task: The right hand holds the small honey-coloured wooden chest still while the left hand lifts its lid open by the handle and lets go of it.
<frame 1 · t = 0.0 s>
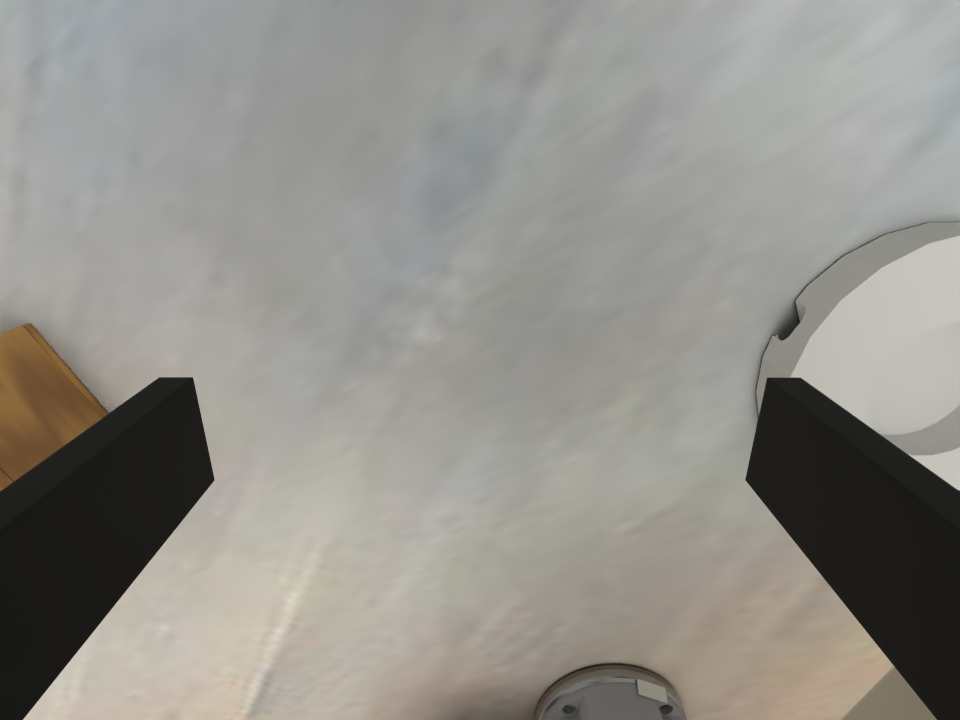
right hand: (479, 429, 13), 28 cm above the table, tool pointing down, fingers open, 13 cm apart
ashtray: (904, 371, 42), on the table
chest: (73, 416, 44), on the table
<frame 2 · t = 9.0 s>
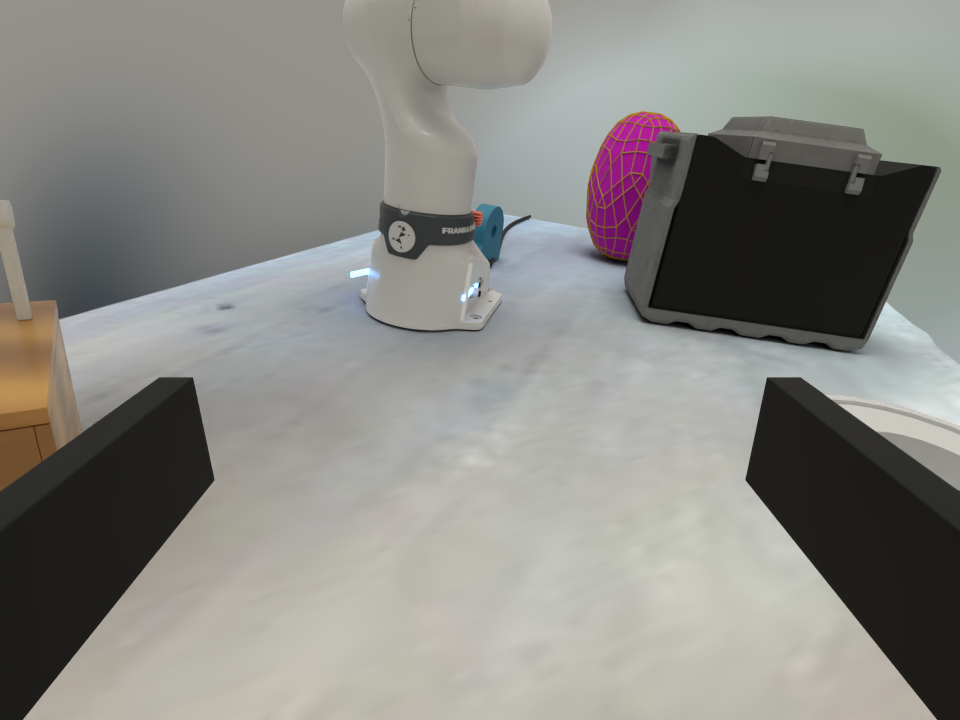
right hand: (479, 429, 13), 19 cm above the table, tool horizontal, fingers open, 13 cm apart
ashtray: (908, 502, 47), on the table
chest: (30, 504, 34), on the table
camera mount: (454, 262, 101), on the table
decorative egg: (617, 259, 121), on the table
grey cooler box: (727, 316, 91), on the table
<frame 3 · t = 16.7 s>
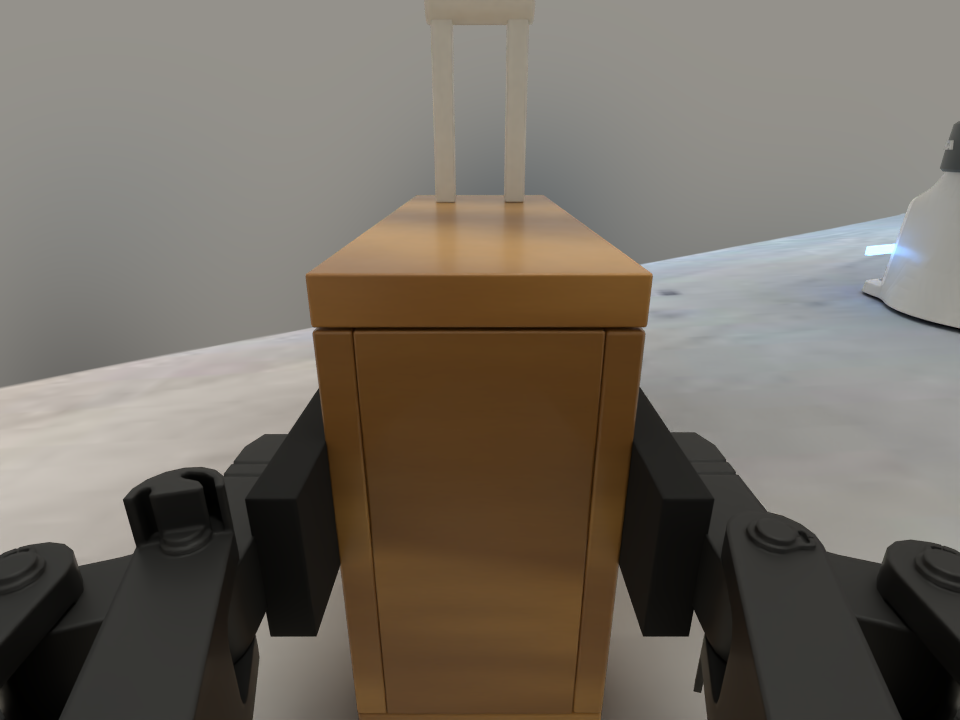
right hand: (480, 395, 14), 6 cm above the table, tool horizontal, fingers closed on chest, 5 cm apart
chest: (480, 521, 19), on the table, touching right hand
lid: (479, 95, 14), point 14 cm above the table, hinge at 0.0°
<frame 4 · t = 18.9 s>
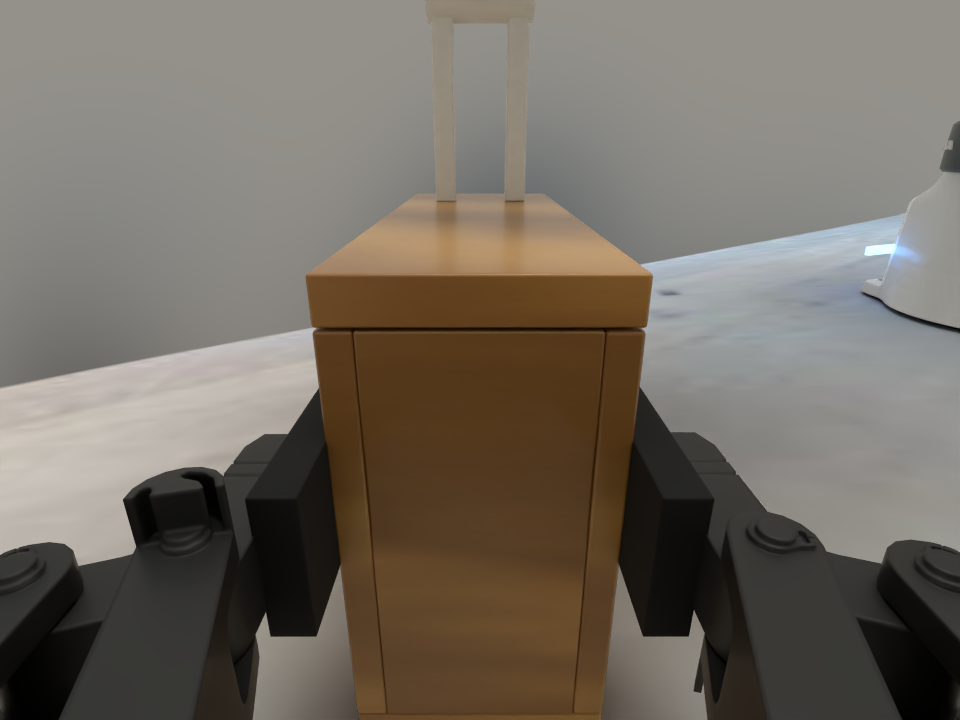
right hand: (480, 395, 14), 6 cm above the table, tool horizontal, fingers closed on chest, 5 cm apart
chest: (480, 521, 19), on the table, touching right hand
lid: (480, 93, 14), point 14 cm above the table, hinge at 0.2°, touching left hand
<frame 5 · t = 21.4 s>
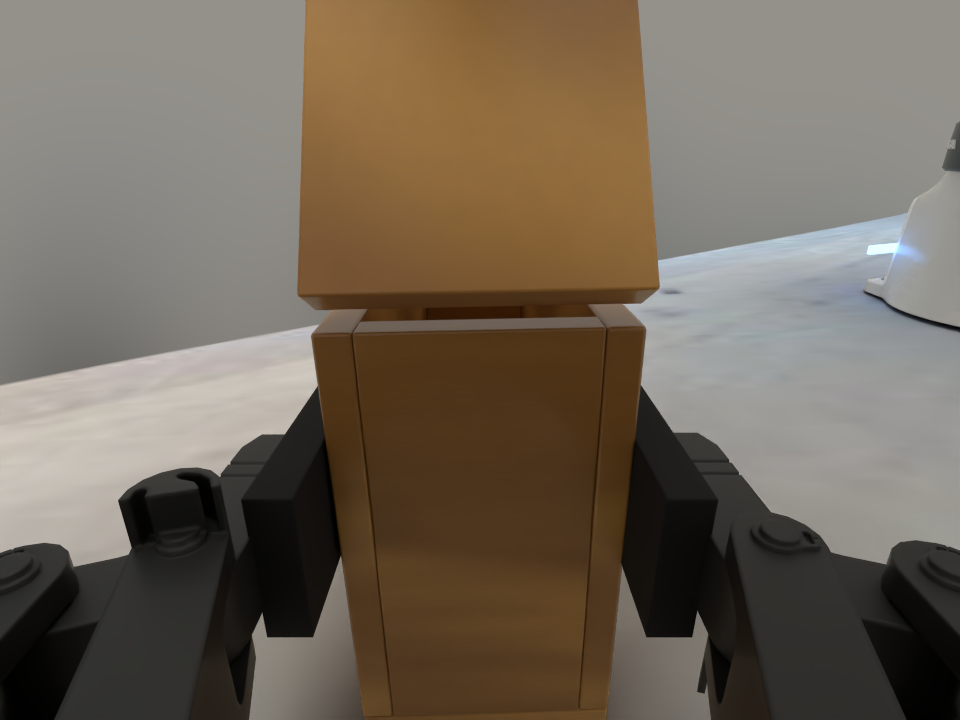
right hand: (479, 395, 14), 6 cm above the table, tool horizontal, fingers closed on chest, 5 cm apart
chest: (479, 519, 19), on the table, touching right hand
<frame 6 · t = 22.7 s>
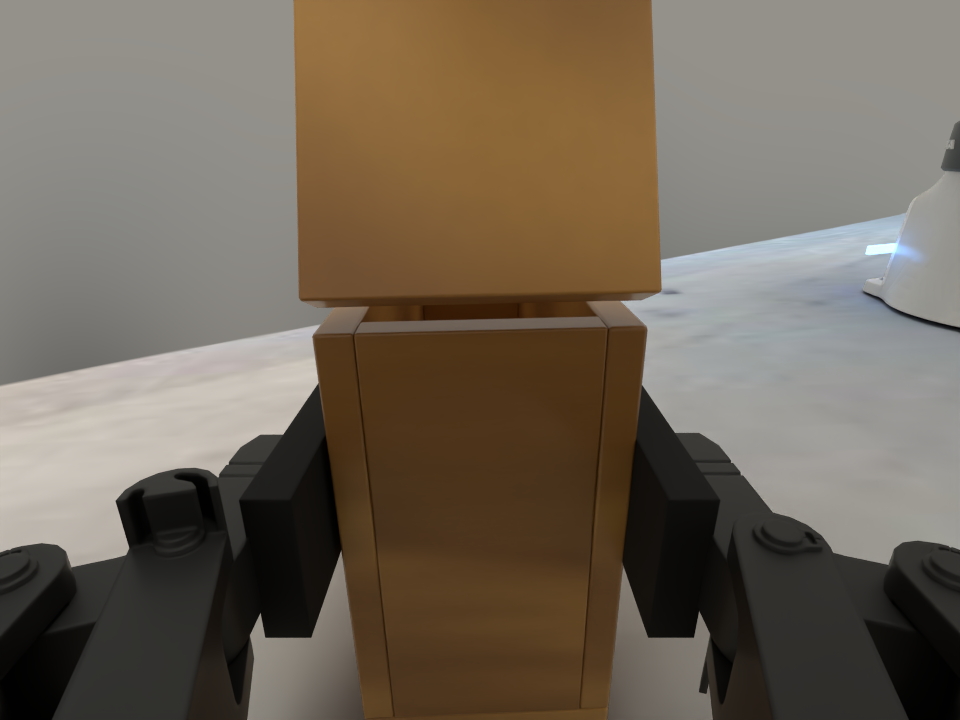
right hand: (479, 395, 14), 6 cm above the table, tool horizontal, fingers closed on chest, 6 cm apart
chest: (477, 520, 19), on the table, touching right hand
when the right hand's fingers open (6 cm above the table, at t = 26.1 s): chest stays where it is, on the table.
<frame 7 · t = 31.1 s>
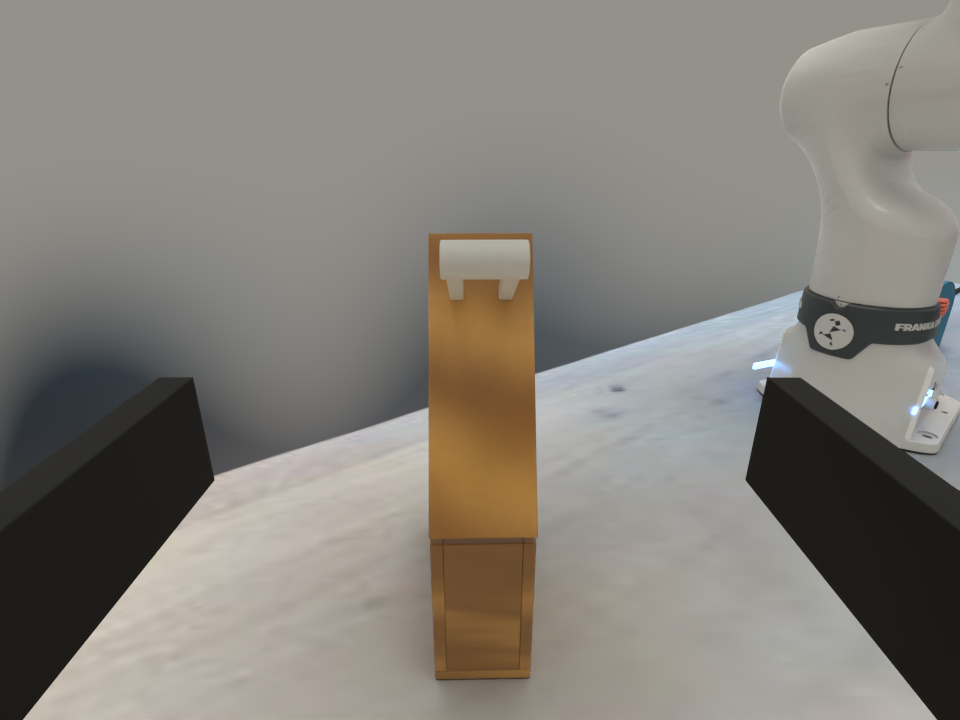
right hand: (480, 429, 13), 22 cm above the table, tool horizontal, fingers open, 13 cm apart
chest: (480, 581, 38), on the table
camera mount: (872, 348, 82), on the table
lid: (483, 378, 24), point 19 cm above the table, hinge at 63.7°
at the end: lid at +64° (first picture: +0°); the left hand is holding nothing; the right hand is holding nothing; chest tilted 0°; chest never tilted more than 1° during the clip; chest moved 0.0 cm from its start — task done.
